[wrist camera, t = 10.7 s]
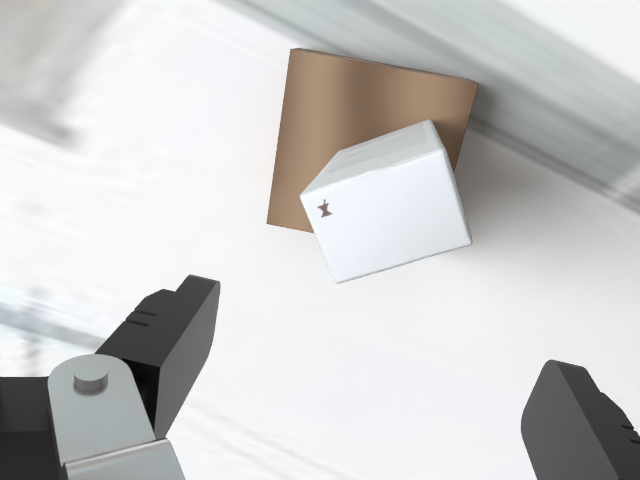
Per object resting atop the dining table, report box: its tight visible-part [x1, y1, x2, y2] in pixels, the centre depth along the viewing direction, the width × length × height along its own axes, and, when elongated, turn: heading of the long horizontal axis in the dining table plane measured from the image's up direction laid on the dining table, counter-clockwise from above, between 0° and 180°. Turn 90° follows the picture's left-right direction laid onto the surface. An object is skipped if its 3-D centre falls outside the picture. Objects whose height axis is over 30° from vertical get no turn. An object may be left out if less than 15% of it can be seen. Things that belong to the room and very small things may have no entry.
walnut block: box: [267, 48, 478, 233], centre depth 34 cm, size 11×11×4 cm
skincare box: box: [300, 119, 472, 284], centre depth 26 cm, size 6×4×12 cm
